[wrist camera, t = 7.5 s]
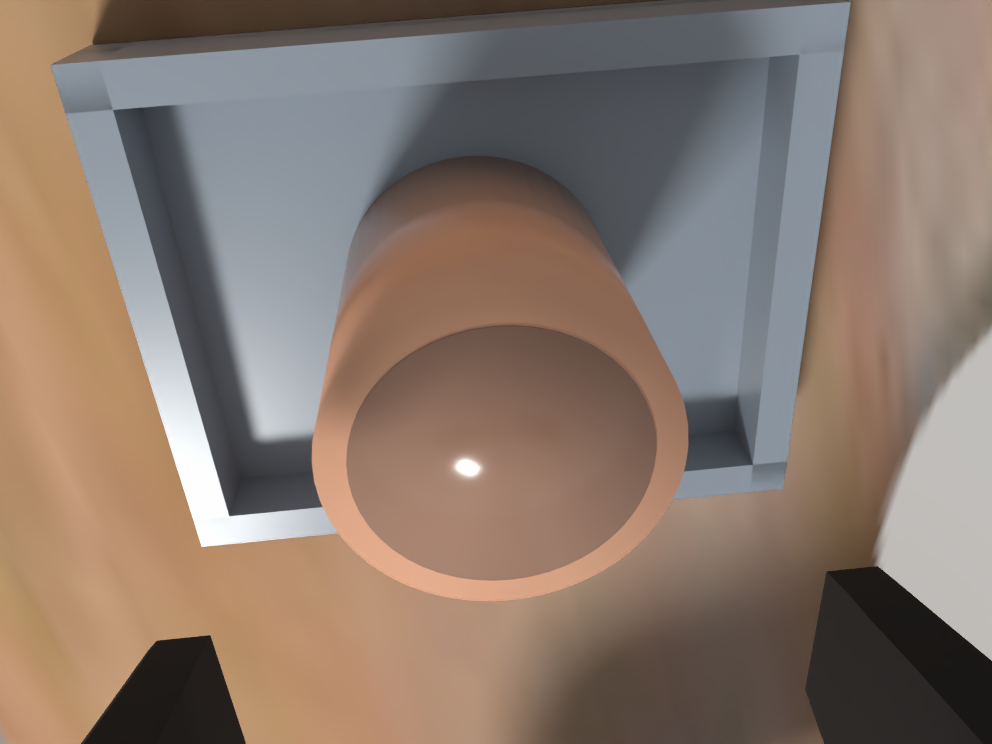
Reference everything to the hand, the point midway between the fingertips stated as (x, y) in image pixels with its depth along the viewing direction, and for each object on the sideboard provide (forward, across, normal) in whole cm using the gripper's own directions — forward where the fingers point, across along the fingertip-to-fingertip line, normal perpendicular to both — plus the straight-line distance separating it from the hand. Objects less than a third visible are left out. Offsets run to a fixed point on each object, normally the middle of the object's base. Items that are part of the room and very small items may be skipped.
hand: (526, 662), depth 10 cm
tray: (+10, 0, -1) cm, 10 cm away
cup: (+10, 0, -1) cm, 10 cm away
